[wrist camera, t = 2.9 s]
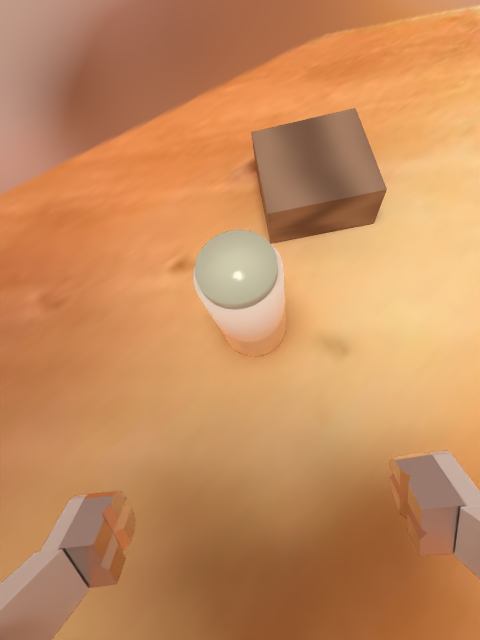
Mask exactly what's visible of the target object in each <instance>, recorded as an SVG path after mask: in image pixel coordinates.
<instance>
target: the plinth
mask: <svg viewBox="0 0 480 640" xmlns="http://www.w3.org/2000/svg"><path fill="white" fill-rule="evenodd" d="M251 133H252V140H253V148H254V156H255V163H256V170H257V175H258V180H259V186H260V191H261V196H262V201H263V206H264V212H265V217H266V222H267V227H268V232H269V237H270V243H276V242H281V241H286V240H291V239H296V238H301V237H306V236H311V235H316V234H322V233H327V232H332V231H337V230H342V229H347V228H352V227H357V226H362V225H367V224H373V223H374V221H375V219H376V216H377V213H378V211H379V208H380V206H381V203H382V200H383V198H384V195H385V193H386V190H387V189H386V186H385V184H384V181H383V178H382V176H381V173H380V171H379V168H378V165H377V163H376V160H375V158H374V155H373V152H372V150H371V147H370V145H369V142H368V139H367V137H366V134H365V132H364V129H363V126H362V124H361V121H360V119H359V116H358V113H357V111H356V108H354V109H349V110H345V111H341V112H336V113H332V114H328V115H323V116H319V117H315V118H310V119H306V120H302V121H297V122H293V123H289V124H285V125H280V126H276V127H272V128H267V129H263V130H259V131H254V132H251Z"/></svg>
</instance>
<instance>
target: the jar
mask: <svg viewBox="0 0 480 640" xmlns="http://www.w3.org/2000/svg"><path fill="white" fill-rule="evenodd" d="M193 281H194V287H195V290H196V292H197V294H198V296H199V298H200V299H201V301H202V302H203V304H204V305H205V307H206V308H207V310H208V312H209V313H210V315H211V316H212V318H213V319H214V321H215V322H216V324H217V325H218V327H219V328H220V330H221V331H222V333H223V335H224V336H225V338H226V339H227V341H228V342H229V344H230V345H231V346H232V347H233V348H234V349H235V350H236V351H237V352H239V353H241V354H243V355H246V356H254V357H256V356H262V355H266V354H268V353H270V352H272V351H273V350H275V349H276V348H277V347H278V346H279V345H280V343H281V342H282V340H283V338H284V336H285V332H286V312H285V291H284V269H283V263H282V259H281V257H280V255H279V253H278V251H277V250H276V249H275V248H274V246H273V245H271V244H270V243H269V241H268V240H266V239H265V238H264V237H263V236H261V235H259V234H257V233H255V232H252V231H247V230H232V231H227V232H224V233H221V234H219V235H217V236H215V237H214V238H212V239H211V240H210V241H208V242H207V243H206V244H205V245H204V247H203V248H202V249H201V251H200V252H199V254H198V256H197V259H196V262H195V269H194V275H193Z"/></svg>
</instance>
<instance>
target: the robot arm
mask: <svg viewBox="0 0 480 640" xmlns="http://www.w3.org/2000/svg"><path fill="white" fill-rule="evenodd" d="M390 467H391V470H392V472H393V475H392V476H391V477H390V485H391V490H392V495H393V498H394V501H395V504H396V506H397V508H398V511H399V513H400V514H401V515H402V516H404V517H405V518H406V519H407V530H408V532H409V535H410V537H411V539H412V541H413V543H414V545H415V547H416V550H417V552H418V554H419V556H429V555H445V554H454V556H455V557H456V558H457V559H458V560H459V561H461V562H462V563H463V564H464V565H465V566H466V567H467V568H468V569H469V570H470V571H472V572H473V573H474V574H475V575H476V576H477V577H478V578H479V579H480V491H479V489H478V488H477V487H476V485H475V484H474V483H473V481H472V480H471V479H470V477H469V476H468V475H467V473H466V472H465V471H464V469H463V468H462V467H461V466H460V464H459V463H458V462H457V460H456V459H455V458H454V456H453V455H452V454H451V453H450V452H449V451H447V450H443V451H435V452H428V453H426V452H424V453H417V454H409V455H402V456H395V457H391V459H390ZM125 500H126V497H125V495H124V493H123V492H122V491H116V492H105V493H95V494H85V495H76V496H73V497H72V498H71V499H70V500H69V501H68V503H67V505H66V506H65V508H64V510H63V512H62V513H61V515H60V517H59V519H58V521H57V522H56V524H55V526H54V528H53V529H52V531H51V533H50V535H49V537H48V538H47V540H46V542H45V544H44V545H43V547H42V549H41V551H40V552H35V553H34V554H33V555H32V556H31V557H29V558H28V559H27V560H26V561H25V562H24V563H23V564H22V565H21V566H20V567H18V568H17V569H16V570H15V571H14V572H13V573H12V574H11V575H10V576H9V577H7V578H6V579H5V580H4V581H3V582H2V583H1V584H0V640H52V639H53V637H54V636H55V635H56V633H57V632H58V631H59V629H60V628H61V627H62V625H63V624H64V623H65V621H66V620H67V619H68V617H69V616H70V615H71V613H72V612H73V611H74V609H75V608H76V607H77V605H78V604H79V603H80V601H81V600H82V599H83V597H84V596H85V595H86V594H87V592H88V591H89V588H91V587H99V586H107V585H115V584H117V583H118V580H119V577H120V574H121V571H122V568H123V565H124V562H125V559H126V558H125V554H124V549H125V548H126V547H127V546H128V545H129V544H130V543H131V540H132V537H133V533H134V526H135V518H134V513H133V511H132V509H131V508H130V507H129V506H127V505H125V504H124V503H125Z"/></svg>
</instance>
